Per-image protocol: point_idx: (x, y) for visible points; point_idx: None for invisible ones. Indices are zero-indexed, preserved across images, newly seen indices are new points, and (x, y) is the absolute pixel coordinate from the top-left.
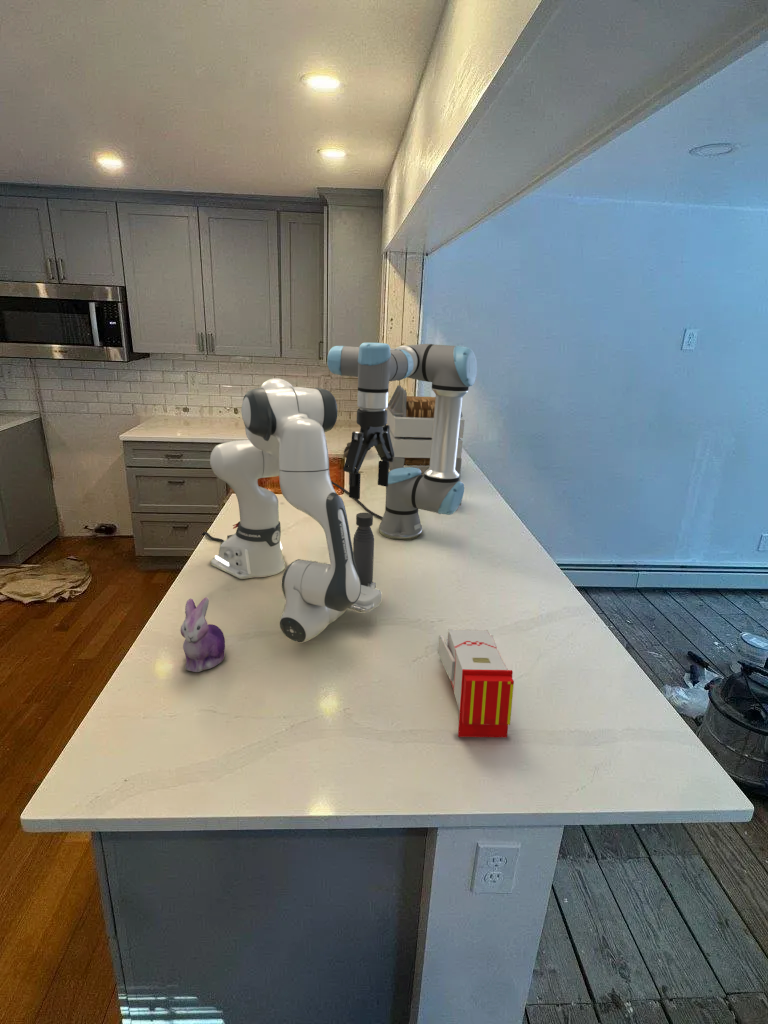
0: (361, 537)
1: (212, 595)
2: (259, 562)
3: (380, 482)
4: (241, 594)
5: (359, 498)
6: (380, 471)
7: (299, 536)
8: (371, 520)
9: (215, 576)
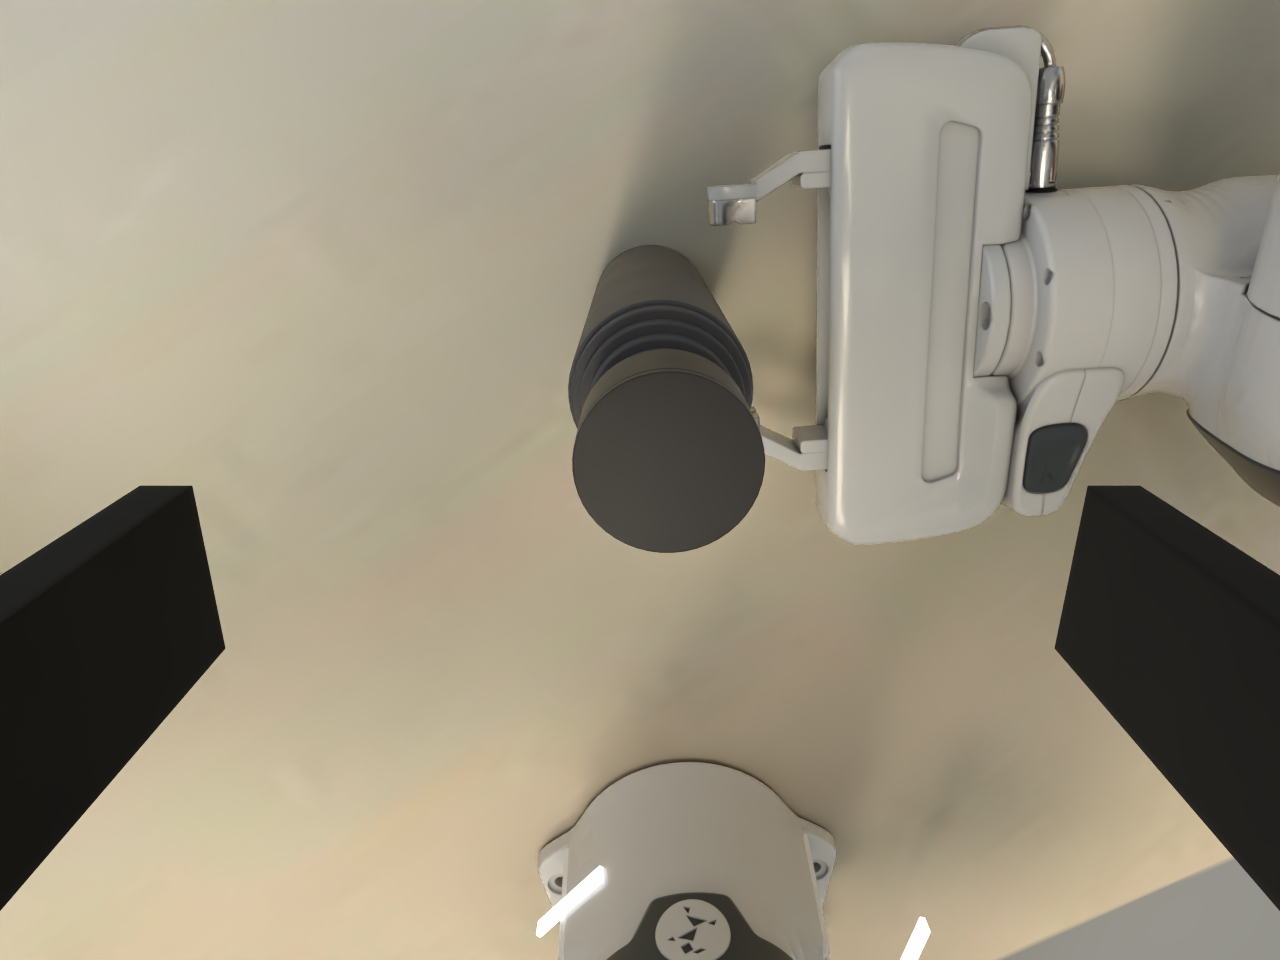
0: (742, 379)
1: (1010, 829)
2: (777, 855)
3: (189, 630)
4: (945, 754)
5: (1097, 487)
6: (51, 786)
7: (297, 923)
8: (670, 361)
9: (866, 922)
